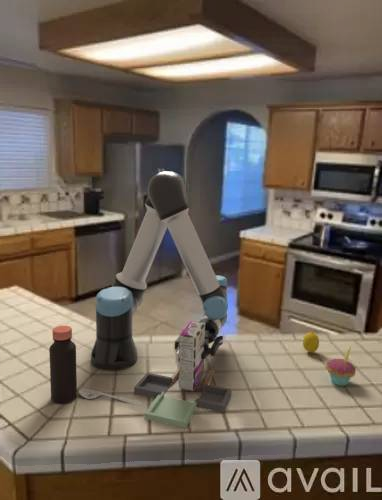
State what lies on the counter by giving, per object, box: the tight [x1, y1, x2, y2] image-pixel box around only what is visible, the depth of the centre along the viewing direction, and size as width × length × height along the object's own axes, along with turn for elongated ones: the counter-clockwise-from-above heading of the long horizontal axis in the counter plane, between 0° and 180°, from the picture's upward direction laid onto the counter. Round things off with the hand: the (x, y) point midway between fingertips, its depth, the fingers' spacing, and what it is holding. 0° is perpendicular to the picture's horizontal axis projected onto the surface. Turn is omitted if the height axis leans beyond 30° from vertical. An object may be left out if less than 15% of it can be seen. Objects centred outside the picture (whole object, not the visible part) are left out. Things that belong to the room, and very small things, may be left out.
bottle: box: [48, 325, 78, 405], centre depth 107 cm, size 7×7×20 cm
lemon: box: [302, 331, 320, 354], centre depth 141 cm, size 6×6×8 cm
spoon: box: [78, 388, 141, 405], centre depth 109 cm, size 4×21×2 cm, turn 78°
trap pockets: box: [133, 372, 232, 414], centre depth 112 cm, size 26×9×2 cm, turn 72°
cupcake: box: [325, 346, 357, 386], centre depth 121 cm, size 9×8×12 cm
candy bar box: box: [178, 320, 205, 392], centre depth 115 cm, size 11×5×16 cm, turn 164°
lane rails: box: [171, 366, 215, 391], centre depth 121 cm, size 11×10×2 cm
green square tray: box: [144, 392, 198, 429], centre depth 104 cm, size 11×11×2 cm
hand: (186, 359), depth 110 cm, fingers closed on candy bar box, 5 cm apart
